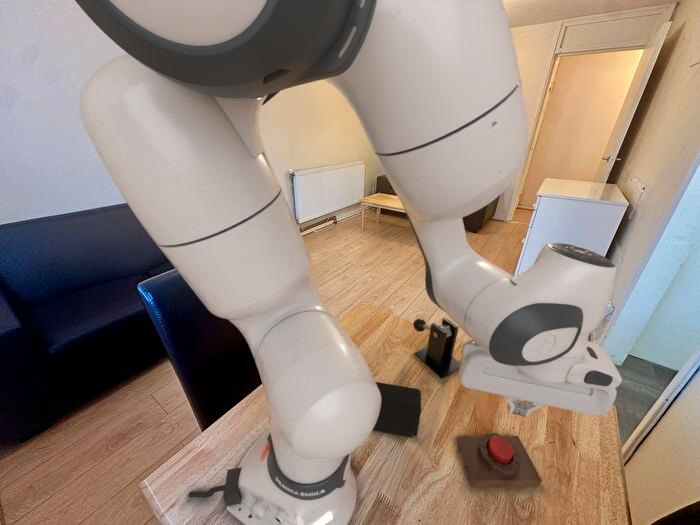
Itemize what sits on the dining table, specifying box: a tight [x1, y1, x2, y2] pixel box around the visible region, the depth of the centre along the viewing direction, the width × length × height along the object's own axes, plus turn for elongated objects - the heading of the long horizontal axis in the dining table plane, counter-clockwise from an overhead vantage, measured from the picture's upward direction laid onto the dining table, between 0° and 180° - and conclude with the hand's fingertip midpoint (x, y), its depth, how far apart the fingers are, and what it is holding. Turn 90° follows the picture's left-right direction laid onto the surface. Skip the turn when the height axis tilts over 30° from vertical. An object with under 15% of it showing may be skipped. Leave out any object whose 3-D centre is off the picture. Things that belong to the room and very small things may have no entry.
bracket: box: [414, 317, 460, 380], centre depth 74 cm, size 10×8×13 cm
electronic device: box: [372, 381, 422, 439], centre depth 59 cm, size 4×10×10 cm, turn 78°
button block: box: [457, 432, 543, 489], centre depth 53 cm, size 12×8×4 cm, turn 90°
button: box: [488, 436, 514, 464], centre depth 52 cm, size 4×4×2 cm
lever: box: [412, 318, 452, 338], centre depth 76 cm, size 12×4×4 cm, turn 30°
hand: (516, 411), depth 48 cm, fingers closed
